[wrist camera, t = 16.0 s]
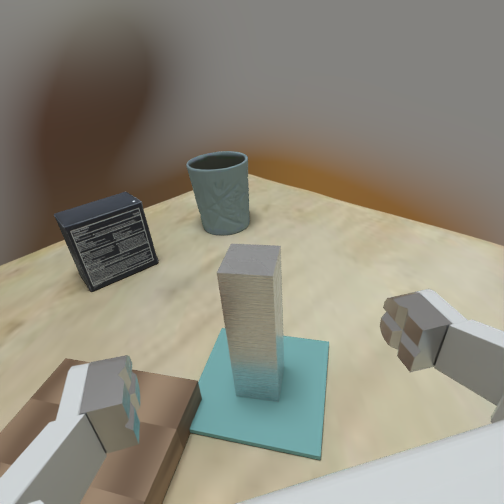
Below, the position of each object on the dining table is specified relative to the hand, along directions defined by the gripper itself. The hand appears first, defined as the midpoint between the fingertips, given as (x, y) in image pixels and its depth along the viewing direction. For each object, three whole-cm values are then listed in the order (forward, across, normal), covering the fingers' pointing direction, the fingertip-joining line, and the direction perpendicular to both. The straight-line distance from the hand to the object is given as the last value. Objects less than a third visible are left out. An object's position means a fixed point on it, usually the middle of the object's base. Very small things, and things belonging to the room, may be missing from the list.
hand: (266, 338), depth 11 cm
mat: (+13, -3, +20) cm, 25 cm away
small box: (+40, +12, +21) cm, 47 cm away
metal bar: (+13, -3, +20) cm, 24 cm away
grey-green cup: (+48, -6, +21) cm, 53 cm away
